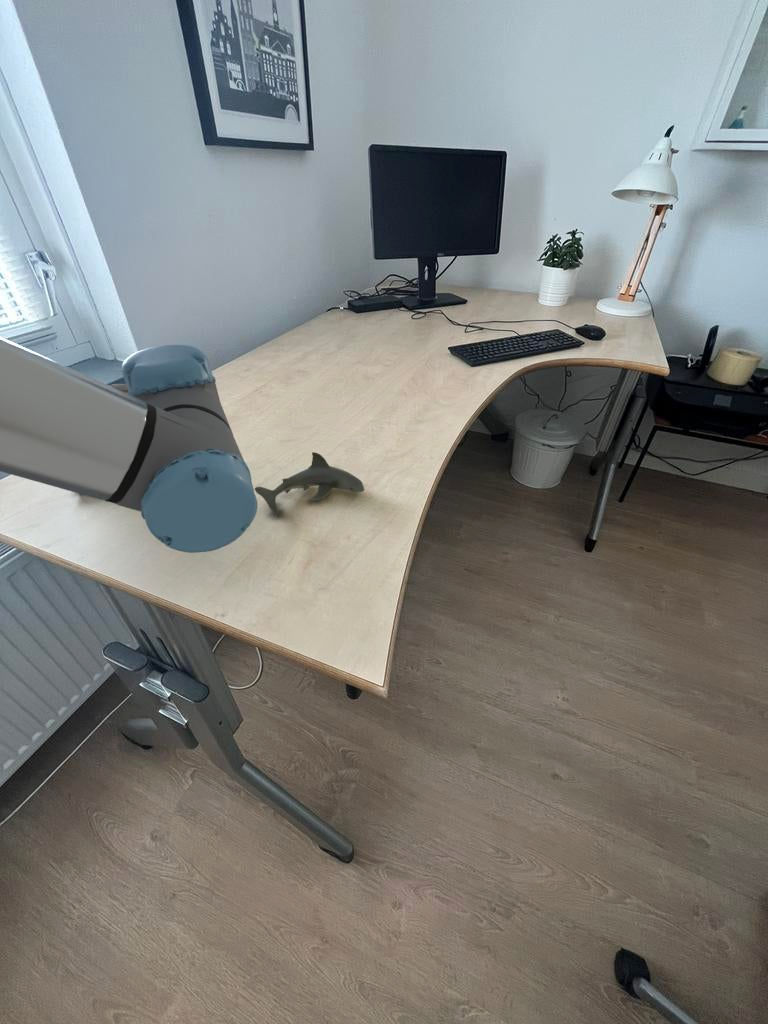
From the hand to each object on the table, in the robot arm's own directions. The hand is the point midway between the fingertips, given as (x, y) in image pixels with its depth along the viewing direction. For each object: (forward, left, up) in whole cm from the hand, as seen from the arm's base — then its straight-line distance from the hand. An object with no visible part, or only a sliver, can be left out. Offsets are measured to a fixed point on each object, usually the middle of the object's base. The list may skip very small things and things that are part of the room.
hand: (136, 399), depth 68 cm
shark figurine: (+25, -9, -18) cm, 33 cm away
